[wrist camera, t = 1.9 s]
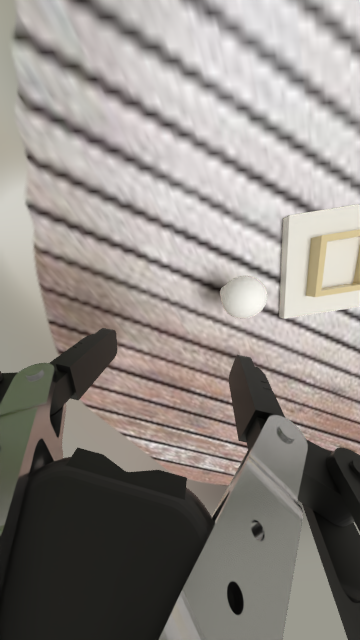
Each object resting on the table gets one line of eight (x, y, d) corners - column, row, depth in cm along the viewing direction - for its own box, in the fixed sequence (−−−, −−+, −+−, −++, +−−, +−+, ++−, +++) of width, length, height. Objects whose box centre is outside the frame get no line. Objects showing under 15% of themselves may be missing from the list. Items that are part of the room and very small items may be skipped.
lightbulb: (217, 312, 31) (240, 332, 20) (204, 285, 29) (221, 292, 19) (245, 297, 30) (283, 310, 20) (232, 269, 28) (268, 266, 18)
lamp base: (283, 218, 26) (299, 210, 23) (385, 202, 26) (416, 191, 23) (279, 316, 32) (291, 321, 28) (364, 303, 32) (386, 306, 28)
